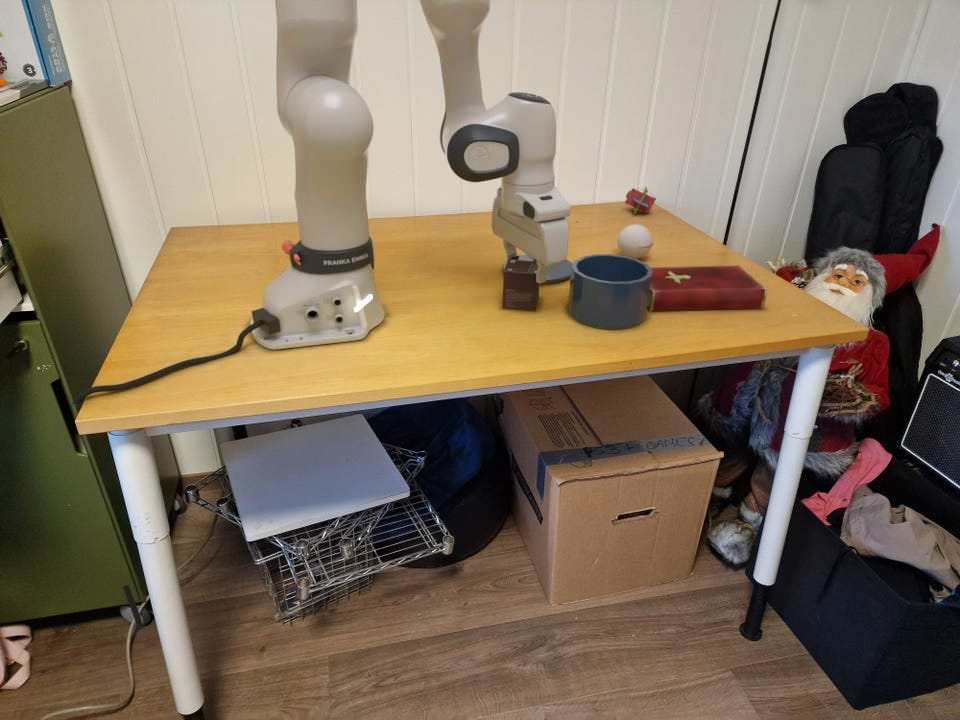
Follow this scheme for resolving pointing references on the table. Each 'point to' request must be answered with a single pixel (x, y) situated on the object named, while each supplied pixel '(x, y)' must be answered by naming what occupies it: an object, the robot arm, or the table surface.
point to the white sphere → (635, 241)
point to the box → (520, 285)
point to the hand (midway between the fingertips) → (525, 272)
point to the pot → (609, 291)
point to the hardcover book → (704, 289)
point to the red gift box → (639, 200)
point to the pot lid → (551, 269)
